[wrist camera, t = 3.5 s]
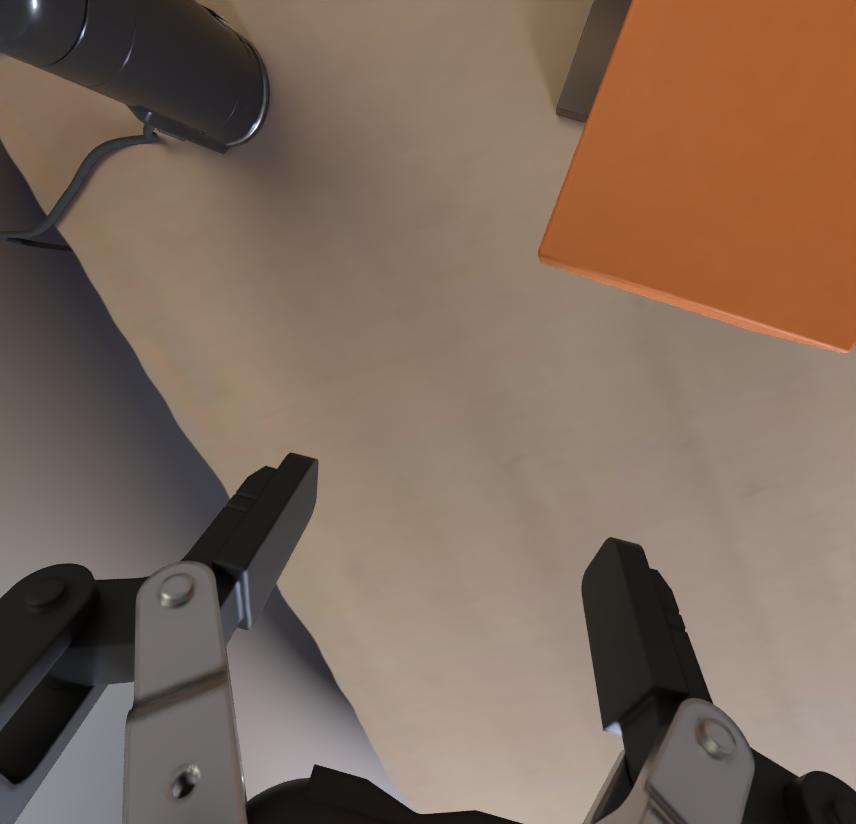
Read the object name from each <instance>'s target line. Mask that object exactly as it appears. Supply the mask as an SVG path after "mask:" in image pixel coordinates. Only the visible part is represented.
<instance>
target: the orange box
mask: <svg viewBox="0 0 856 824" xmlns="http://www.w3.org/2000/svg"><path fill="white" fill-rule="evenodd" d="M538 256H539V259H540V262H541V263H543V264H546V265H549V266H552V267H555V268H559V269H562V270H565V271H568V272H571V273H574V274H577V275H580V276H583V277H586V278H590V279H593V280H596V281H599V282H602V283H605V284H608V285H611V286H614V287H618V288H621V289H624V290H627V291H630V292H633V293H636V294H639V295H642V296H645V297H649V298H652V299H655V300H658V301H661V302H664V303H667V304H670V305H673V306H676V307H680V308H683V309H686V310H689V311H692V312H695V313H698V314H701V315H704V316H708V317H711V318H714V319H717V320H720V321H723V322H726V323H729V324H732V325H735V326H739V327H742V328H745V329H748V330H752V331H756V332H760V333H764V334H768V335H772V336H776V337H780V338H784V339H788V340H792V341H796V342H800V343H804V344H808V345H812V346H816V347H820V348H824V349H828V350H832V351H836V352H840V353H848V352H849V351H850V350H851V349H852V348H853V346H854V345H855V343H856V0H632V2H631V5H630V7H629V10H628V13H627V15H626V18H625V21H624V23H623V26H622V29H621V31H620V34H619V37H618V39H617V42H616V45H615V47H614V50H613V53H612V55H611V58H610V61H609V63H608V66H607V69H606V71H605V74H604V77H603V79H602V82H601V85H600V87H599V90H598V93H597V95H596V98H595V101H594V103H593V106H592V109H591V111H590V114H589V117H588V119H587V122H586V125H585V127H584V130H583V133H582V135H581V138H580V141H579V143H578V146H577V149H576V151H575V154H574V156H573V159H572V162H571V164H570V167H569V170H568V172H567V175H566V178H565V180H564V183H563V186H562V188H561V191H560V194H559V196H558V199H557V202H556V204H555V207H554V210H553V212H552V215H551V218H550V220H549V223H548V226H547V228H546V231H545V234H544V236H543V239H542V242H541V244H540V247H539V250H538Z"/></svg>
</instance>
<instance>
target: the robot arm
mask: <svg viewBox="0 0 856 824" xmlns="http://www.w3.org/2000/svg"><path fill="white" fill-rule="evenodd" d="M215 16H216V17H215ZM217 17H218V18H220V19H222V20H224V21H226V22H228V21H227V20H225V19H224V18H223V17H222V16H220V15H219V14H218V13H216V12H214V11H212V10H210V9H208V8H206V7H204V6H202V5H200V4H199V3H198V2H196V1H195V0H0V53H3V54H5V55H8V56H10V57H12V58H15V59H17V60H20V61H22V62H24V63H27V64H30V65H32V66H35V67H37V68H40V69H42V70H44V71H47V72H49V73H52V74H54V75H57V76H59V77H61V78H64V79H66V80H69V81H71V82H73V83H76V84H78V85H81V86H83V87H86V88H88V89H90V90H93V91H95V92H98V93H100V94H102V95H105V96H107V97H110V98H112V99H114V100H117V101H119V102H122V103H124V104H126V105H127V106H128V108H129V109H130V110H131V111H132V112H133V113H134V115H135V116H136V117H137V118H138V119H139V120H140V121H141V122H143V123H145V125H144V128H143V134H144V135H139V136H130V137H122V138H117V139H113V140H110V141H107V142H105V143H102V144H101V145H99V146H97V147H96V148H95V149H93V150H92V151H91V152H90V153H89V154H88V156H87V157H86V158H85V159H84V161H83V162H82V164H81V165H80V167H79V169H78V171H77V173H76V174H75V176H74V178H73V180H72V182H71V183H70V185H69V186H68V188H67V189H66V191H65V192H64V193H63V195H62V196H61V197H60V199H59V200H58V202H57V203H56V205H55V206H54V208H53V209H52V211H51V212H50V214H49V215H48V216H47V217H46V219H45V220H44V221H43V222H42V223H41V224H39V225H38V226H37V227H35V228H33V229H31V230H28V231H1V232H0V238H1V239H3V240H5V241H8V242H12V243H16V244H21V245H27V246H33V247H40V248H47V249H54V250H62V251H71V252H74V251H73V249H72V248H71V246H65V245H58V244H51V243H44V242H38V241H31V240H26V239H21V238H28V237H34V236H37V235H39V234H41V233H43V232H44V231H46V230H47V229H48V228H49V227H50V226H51V225H52V224H53V223H54V222H55V221H56V219H57V218H58V217H59V215H60V214H61V212H62V211H63V209H64V208H65V206H66V205H67V204H68V202H69V201H70V200H71V198H72V197H73V196H74V194H75V193H76V191H77V190H78V188H79V187H80V185H81V183H82V181H83V180H84V178H85V176H86V174H87V173H88V171H89V169H90V168H91V166H92V165H93V164H94V163H95V161H96V160H97V159H98V158H99V157H101V156H102V155H103V154H105V153H106V152H108V151H110V150H112V149H115V148H118V147H123V146H128V145H135V144H144V143H151V142H154V141H156V140H157V139H158V135H157V134H156V133H155V132H153V130H154V128H157V130H158V131H159V132H161V133H164V134H166V135H169V136H172V137H174V138H177V139H179V140H182V141H185V139H186V140H188V141H191V142H193V143H196V144H198V145H201V146H204V147H206V148H209V149H211V150H214V151H217V152H219V153H222V154H225V153H226V151H227V150H228V148H229V147H233V146H239V145H242V144H244V143H246V142H248V141H249V140H250V139H251V138H253V137H254V136H255V134H256V133H257V132H258V131H259V129H260V128H261V126H262V124H263V122H264V119H265V117H266V113H267V109H268V103H269V83H268V77H267V73H266V70H265V67H264V64H263V62H262V59H261V58H260V56H259V54H258V52H257V51H256V49H255V48H254V47H253V46H252V45H251V44H250V43H249V42H248V41H247V40H246V39H245V38H244V37H242V36H241V35H240V34H238V33H237V32H235V31H234V30H232V29H231V28H230V27H229V26H227V25H226V24H224V23H223V22H222V21H220V20H219V19H218V18H217ZM228 23H229V22H228ZM317 480H318V460H317V459H315V458H311V457H307V456H303V455H299V454H296V453H292V452H291V453H289V454H288V455H287V456H286V457H285V459H284V460H283V462H282V463H281V464H280V466H279V467H278V469H275V468H272V467H268V466H265V467H263V468H261V469H260V470H258V471H257V472H255V473H253V474H252V475H250V476H248V477H247V479H246V480H245V481H244V483H243V484H242V485H241V486H240V488H239V489H238V490H237V491H236V494H235V495H233V497H232V498H231V499H230V500H229V502H228V503H227V505H226V507H224V508H223V509H222V511H221V512H220V513H219V514H218V516H217V517H216V518H215V519H214V521H213V522H212V523H211V525H210V526H209V527H208V528H207V530H206V531H205V532H204V533H203V535H202V536H201V537H200V539H199V540H198V541H197V542H196V544H195V545H194V546H193V548H192V549H191V550H190V551H189V552H188V554H187V555H186V556H185V557H184V558H183V559H182V560H181V561H180V562H175V563H172V564H169V565H167V566H165V567H163V568H161V569H159V570H158V571H156V572H155V573H153V574H152V575H151V576H148V577H144V578H132V579H108V580H95V579H94V577H93V575H92V573H91V571H89V570H88V569H87V568H86V567H84V566H81V565H78V564H57V565H53V566H49V567H46V568H43V569H40V570H38V571H36V572H34V573H32V574H30V575H28V576H26V577H25V578H23V579H22V580H20V581H19V582H18V583H16V584H15V585H14V586H13V587H12V588H11V589H10V590H9V591H8V592H7V593H6V594H5V595H3V596H2V597H1V598H0V824H14V823H15V821H16V820H17V818H18V817H19V815H20V814H21V812H22V811H23V809H24V808H25V806H26V805H27V803H28V802H29V800H30V799H31V798H32V796H33V795H34V793H35V792H36V790H37V789H38V787H39V786H40V784H41V783H42V781H43V780H44V778H45V777H46V776H47V774H48V772H49V771H50V770H51V768H52V767H53V765H54V764H55V762H56V761H57V759H58V758H59V756H60V755H61V753H62V752H63V750H64V749H65V747H66V746H67V745H68V743H69V742H70V740H71V739H72V737H73V736H74V734H75V733H76V731H77V730H78V728H79V727H80V725H81V724H82V722H83V721H84V719H85V718H86V717H87V715H88V714H89V712H90V711H91V709H92V708H93V706H94V705H95V703H96V702H97V700H98V699H99V697H100V696H101V694H102V693H103V691H104V690H105V689H106V687H107V686H108V684H115V683H127V682H134V703H133V707H132V709H131V710H130V711H129V712H128V715H127V720H126V728H125V748H124V779H123V780H124V781H123V810H122V824H522V823H519V822H515V821H512V820H508V819H505V818H501V817H498V816H494V815H491V814H487V813H484V812H480V811H477V810H473V811H460V812H447V813H434V814H418V813H416V812H414V811H412V810H410V809H409V808H408V807H406V806H405V805H403V804H402V803H400V802H399V801H398V800H396V799H395V798H393V797H392V796H390V795H389V794H387V793H386V792H384V791H383V790H382V789H380V788H378V787H377V786H376V785H374V784H373V783H372V782H370V781H369V780H367V779H364V778H361V777H357V776H354V775H351V774H347V773H343V772H340V771H337V770H333V769H330V768H326V767H322V766H319V765H316V764H315V765H314V767H313V770H312V774H311V777H310V778H304V779H303V778H302V779H296V780H291V781H287V782H284V783H281V784H278V785H276V786H273V787H271V788H269V789H267V790H265V791H263V792H261V793H260V794H258V795H256V796H254V797H253V798H252V799H250V800H249V801H247V796H246V789H245V781H244V774H243V767H242V759H241V752H240V746H239V738H238V731H237V724H236V717H235V709H234V702H233V694H232V687H231V680H230V672H229V665H228V657H227V650H226V646H227V644H228V642H229V640H230V639H231V637H232V635H233V633H234V632H235V630H236V628H237V627H238V628H242V629H245V630H249V631H251V629H252V627H253V625H254V624H255V621H256V620H257V618H258V616H259V614H260V612H261V610H262V608H263V607H264V605H265V603H266V601H267V599H268V597H269V595H270V593H271V592H272V590H273V588H274V586H275V584H276V582H277V580H278V578H279V577H280V575H281V573H282V571H283V569H284V567H285V565H286V563H287V562H288V560H289V558H290V556H291V554H292V552H293V550H294V548H295V547H296V545H297V543H298V541H299V539H300V537H301V535H302V533H303V532H304V530H305V528H306V526H307V524H308V522H309V520H310V518H311V516H312V513H313V510H314V507H315V503H316V497H317ZM581 590H582V599H583V605H584V612H585V618H586V624H587V630H588V637H589V643H590V649H591V656H592V662H593V668H594V675H595V681H596V687H597V694H598V700H599V706H600V712H601V719H602V725H603V731H607V732H610V733H614V734H618V735H621V736H622V738H623V743H624V750H623V751H622V752H621V753H620V754H619V756H618V758H617V760H616V761H615V763H614V765H613V767H612V769H611V771H610V773H609V775H608V777H607V778H606V780H605V782H604V784H603V786H602V788H601V790H600V792H599V794H598V795H597V797H596V799H595V801H594V803H593V805H592V807H591V809H590V811H589V812H588V814H587V816H586V818H585V820H584V822H583V823H582V824H856V791H854V790H853V789H852V788H851V787H850V786H848V785H847V784H846V783H844V782H843V781H841V780H840V779H838V778H836V777H835V776H833V775H831V774H828V773H826V772H822V771H812V772H809V773H807V774H805V775H803V776H801V777H798V776H796V775H795V774H793V773H791V772H790V771H788V770H786V769H785V768H783V767H781V766H780V765H778V764H777V763H775V762H773V761H772V760H770V759H768V758H767V757H765V756H763V755H762V754H760V753H758V752H757V751H755V750H754V749H752V748H751V747H750V746H749V744H748V742H747V740H746V738H745V736H744V735H743V733H742V731H741V730H740V729H739V727H738V726H737V725H736V724H735V722H734V721H733V720H732V719H731V718H730V717H729V716H728V715H727V714H726V713H725V712H723V711H722V710H721V709H720V708H718V707H717V706H715V705H714V704H713V702H712V699H711V697H710V694H709V692H708V689H707V686H706V683H705V681H704V678H703V675H702V672H701V669H700V667H699V664H698V661H697V658H696V656H695V653H694V650H693V647H692V645H691V642H690V639H689V636H688V634H687V632H685V625H684V622H683V620H682V617H681V615H679V609H678V606H677V603H676V600H675V598H674V595H673V592H672V590H671V588H670V587H669V586H668V584H667V583H666V581H665V580H664V579H663V577H662V576H661V575H660V573H659V572H658V570H654V569H650V568H649V565H648V562H647V559H646V556H645V552H644V550H643V548H642V547H641V546H640V545H639V544H635V543H631V542H627V541H623V540H620V539H616V538H612V537H610V538H608V539H606V541H605V542H604V543H603V545H602V546H601V548H600V550H599V551H598V553H597V554H596V556H595V557H594V559H593V560H592V562H591V563H590V565H589V566H588V568H587V569H586V571H585V573H584V576H583V580H582V589H581Z"/></svg>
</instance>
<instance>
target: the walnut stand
mask: <svg viewBox="0 0 856 824" xmlns="http://www.w3.org/2000/svg"><path fill="white" fill-rule="evenodd" d="M631 2H632V0H594V2H593V5H592V7H591V10H590V13H589V16H588V19H587V22H586V25H585V28H584V30H583V33H582V36H581V39H580V42H579V45H578V48H577V50H576V53H575V56H574V59H573V62H572V65H571V68H570V70H569V73H568V76H567V79H566V82H565V85H564V88H563V91H562V93H561V96H560V99H559V102H558V105H557V110H556V114H557V115H560V116H564V117H567V118H571V119H575V120H579V121H582V122H587V119H588V117H589V114H590V111H591V109H592V106H593V103H594V101H595V98H596V95H597V93H598V90H599V87H600V85H601V82H602V79H603V77H604V74H605V71H606V69H607V66H608V63H609V61H610V58H611V55H612V53H613V50H614V47H615V45H616V42H617V39H618V37H619V34H620V31H621V29H622V26H623V23H624V21H625V18H626V15H627V13H628V10H629V7H630V5H631Z"/></svg>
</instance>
